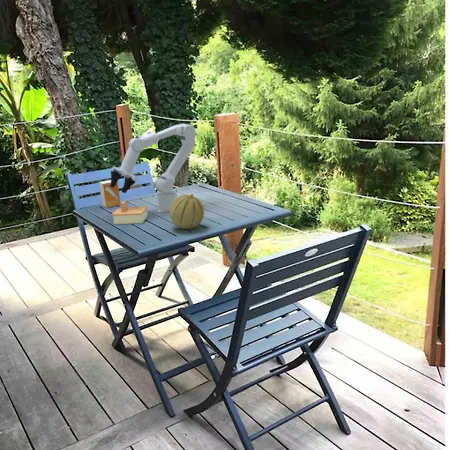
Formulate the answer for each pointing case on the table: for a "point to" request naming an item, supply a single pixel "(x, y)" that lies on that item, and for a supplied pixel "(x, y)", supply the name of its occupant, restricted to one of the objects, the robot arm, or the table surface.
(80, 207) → the table surface
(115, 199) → the small box
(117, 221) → the tub
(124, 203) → the lid
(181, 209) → the cantaloupe
